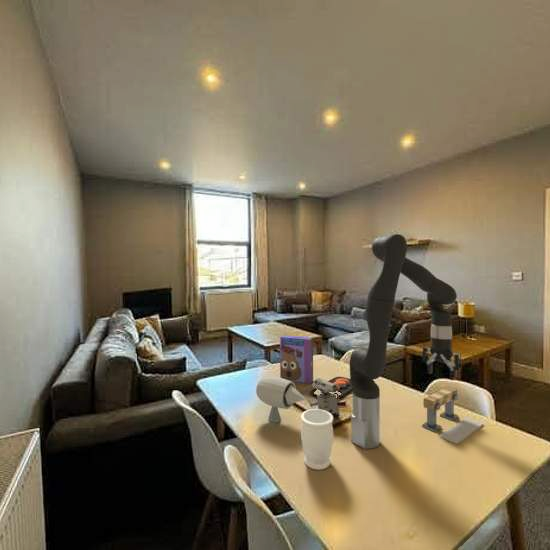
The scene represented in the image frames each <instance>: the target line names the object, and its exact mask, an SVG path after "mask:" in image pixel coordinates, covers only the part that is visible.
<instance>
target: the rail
mask: <svg viewBox="0 0 550 550" xmlns="http://www.w3.org/2000/svg"><path fill="white" fill-rule="evenodd" d="M455 394H458V388H456V387H455V388H454V387H452V386H447V387H445V388H443V389H440V390H438V391H437V392H434V393H432V394H430V395H428V396H425V397H423V408H424V409H426V410H427V409H430V410H432V411H434V410H435V409H436V404H438V403H440V408H441V407H442V406H445V404H446V403H448V402H450V401H452V400H453V395H455Z"/></svg>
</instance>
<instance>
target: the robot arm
mask: <svg viewBox="0 0 550 550" xmlns="http://www.w3.org/2000/svg"><path fill="white" fill-rule="evenodd" d="M371 251H372V254H373V255H374V257H375V258H376V259H378V260H380V261H381V262H383V267H382V269H381V272H380V274H379V276H378V277H377V278H376V281H375V282H374V283H373V285H372V286H371V287H370V289H369V292H368V294H367V297H366V303H365V307H364V308H365V309H364V315H365V320H366V325H367V328H368V333H369V342H368V348H365V347H361V346H360V347H357V348H355V349H354V350H353V351H352V353H350V358H349V379H350V382H351V386H352V388H353V389H352V393H353V394H352V415H350V441H351V442H352V443H353V444H354V445H357V446H358V447H360V448H362V449H363V450H368V449H376V448H377V447H379V445H380V440H381V438H380V434H381V431H380V430H381V429H380V428H381V427H380V426H381V425H380V423H381V422H380V421H381V420H380V417H381V416H380V414H381V411H380V407H381V403H380V402H381V399H380V397H381V396H380V394H381V392H380V387H379V385H378V384H377V383H376V381H375V380H378V379H379V378H380V377H381V376H382V374H383V373H384V370H385V367H386V366H385V365H386V359H387V349H388V338H389V333H390V332H389V331H390V324H391V319H392V315H393V311H394V307H395V306H394V305H395V299H396V293H397V289H398V284H399V279H400V276H401V274H402V275H403V276H405V278H407V279H409V280H410V281H411V282H412V283H414V285H415V286H417V287H418V288H419V289H420V290H421V291H423V292H425V293H426V299H427V305H428V307H429V311H430V314H431V320H430V321H431V323H430V325H431V326H430V347H429V346H425V347H423V348H422V362H423V363H426V370H427V374H429V375H430V374H433V372H434V369H433V367H434V365H433V362H435V361H437V362H441V363H443V364H444V363H445V365H446V366H447V367H448V368H449V380H451V381H454V380H455V379H457V371H460V370H462V365H463V363H462V354H461V353H453V327H452V313H451V311H450V310H448V309H446V308H445V307H444V305H451V304H454V303H455V302H456V300H457V297H458V295H457V292H456V290H455V289H454V287H452V285H450V284H448V283H447V282H445V281H443V280H442V279H439V278H438V277H437V276H435V275H434V273H432V272H430V270H429V269H427V268H426V267H424V266H423V265H421V264H419V263H417V262H416V261H413V260H411V259H409V258H407V257H406V256H407V251H408V242H407V240H406V238H405V236H403V235H402V234H399V233H394V234H387V235H382V236H379V237H377V238H375V239H374V241H373V242H372V245H371ZM429 353H430V354H431V356H430V357H429ZM452 358H453V359H454V360H453V359H452Z"/></svg>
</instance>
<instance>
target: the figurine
mask: <svg viewBox="0 0 550 550" xmlns="http://www.w3.org/2000/svg"><path fill="white" fill-rule="evenodd" d="M330 380H331V379H329V380H325V379H323V378H319V377H317V378H315V379H314V380H313V382H312V383H311V385H312V388H313V389H318V390H320V391H321V393H322V394H320V395H318V396H316V398H317V399H316V401H315V402H313V403H312V402H311V401H310V400H308V403H309V407H312V408H313V407H315V406H317V407H318V408H317V409H321V410H325V411H327V412H329V413H331V414H333V415H332V416H334V415H335V416H336V418H340V417H341V415H340V409H339V405H340V404H341V402H340V398H339V395H338V394H337V393H334V394H337V398H336V395H334V394H331V393H329V392H330V391H331V392H335V391H337V390H338V386H337V385H335V384H333V383H330ZM328 381H329V382H328ZM335 416H334V417H335ZM339 416H340V417H339Z"/></svg>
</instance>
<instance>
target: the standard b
mask: <svg viewBox="0 0 550 550" xmlns="http://www.w3.org/2000/svg"><path fill="white" fill-rule="evenodd" d="M458 395H459V394H458V393H457V394H455V395H453V400H452V401H450V402H448V403H446V404H444V412H442V413H440V414H439V416H440V418H441V417H442V418H443V419H447V420H449V421H451V422H454V421H455V420H457V419H458V418H459V417H460V416H459V414H456V413H455V401H457V400H459V399H458V398H459V397H458Z"/></svg>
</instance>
